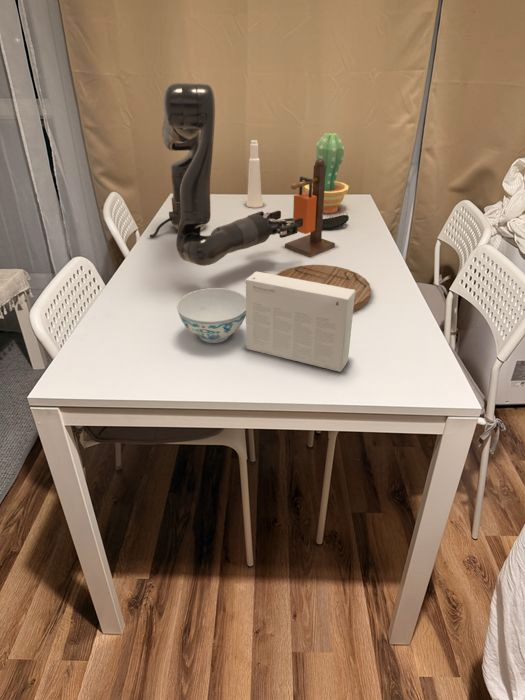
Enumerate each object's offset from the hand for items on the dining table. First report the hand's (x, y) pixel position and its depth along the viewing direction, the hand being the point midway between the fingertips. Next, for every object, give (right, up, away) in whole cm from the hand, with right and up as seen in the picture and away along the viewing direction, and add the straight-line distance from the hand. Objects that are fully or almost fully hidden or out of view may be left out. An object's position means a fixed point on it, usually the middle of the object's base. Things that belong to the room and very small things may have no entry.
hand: (290, 217), depth 149 cm
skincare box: (-1, -38, -37) cm, 53 cm away
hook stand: (+5, -7, +10) cm, 13 cm away
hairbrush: (+8, +3, +26) cm, 27 cm away
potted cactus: (+14, +13, +40) cm, 45 cm away
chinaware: (-18, -34, -31) cm, 49 cm away
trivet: (+6, -22, -14) cm, 27 cm away
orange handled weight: (+4, -2, +6) cm, 8 cm away
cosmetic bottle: (-11, +15, +44) cm, 48 cm away
